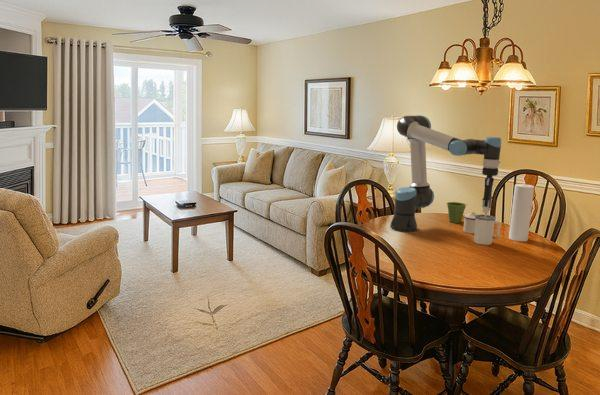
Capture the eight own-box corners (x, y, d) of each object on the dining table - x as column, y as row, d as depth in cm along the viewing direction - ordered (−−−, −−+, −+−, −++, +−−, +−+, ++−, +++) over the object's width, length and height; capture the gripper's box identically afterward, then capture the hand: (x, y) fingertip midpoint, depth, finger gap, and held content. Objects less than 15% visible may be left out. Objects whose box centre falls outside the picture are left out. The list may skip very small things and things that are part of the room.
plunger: (476, 235, 244) (480, 198, 240) (478, 232, 250) (482, 196, 245) (488, 236, 242) (492, 199, 238) (490, 234, 247) (494, 197, 243)
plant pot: (468, 222, 288) (470, 204, 286) (459, 225, 280) (460, 206, 278) (451, 218, 296) (452, 201, 294) (441, 221, 288) (442, 203, 286)
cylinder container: (528, 238, 255) (535, 184, 249) (526, 242, 247) (533, 187, 241) (509, 235, 260) (516, 182, 254) (507, 239, 252) (513, 185, 246)
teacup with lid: (481, 234, 260) (483, 214, 258) (464, 233, 262) (466, 213, 260) (476, 229, 272) (478, 209, 270) (460, 228, 274) (462, 208, 271)
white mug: (472, 242, 245) (474, 217, 242) (474, 238, 253) (477, 213, 250) (497, 246, 239) (499, 220, 236) (499, 242, 247) (501, 216, 244)
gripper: (496, 169, 229) (491, 215, 234) (500, 165, 244) (495, 209, 249) (480, 168, 232) (475, 214, 237) (485, 164, 248) (480, 207, 252)
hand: (486, 211), depth 243 cm, fingers open, 4 cm apart
